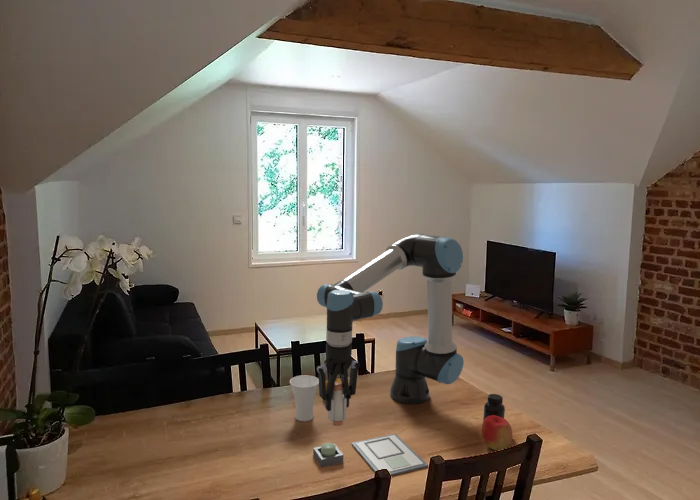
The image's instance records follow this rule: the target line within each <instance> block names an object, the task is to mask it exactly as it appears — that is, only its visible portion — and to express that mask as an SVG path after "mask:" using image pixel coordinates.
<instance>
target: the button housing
mask: <svg viewBox="0 0 700 500" xmlns="http://www.w3.org/2000/svg"><path fill="white" fill-rule="evenodd" d="M333 444H334V445H335V446H336V452H335V455H332V456H328V457H323V456H322V455H321V446H316V447H313V449H312V450H313V451H312V452H313V453H312V454H313V455H312V456H313V457H314V459H315V461H316V462H317V463H318V465H319V467H320V468H325V467H330V466H334V465H339V464H343V463H344V453H343V452H342V451H341V450H340V449H339V447H338V446H337V444H335V443H333Z"/></svg>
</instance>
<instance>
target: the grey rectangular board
mask: <svg viewBox="0 0 700 500" xmlns="http://www.w3.org/2000/svg"><path fill="white" fill-rule="evenodd" d="M350 444H351V446H352V447H353V448H354V449H355V451H356V452H357V453H358V454H359V455H360V456H361V458H362V459H363V460H364V461H365V463H366V464H367V465H368V466H369V467H370V469H371V470H372V472H373V473H375V471H377V470H381V469H387V470H388V471H389V472H390V473H391V475H392V476H396V475H401V474H405V473H409V472H412V471H413V472H414V471H417V470H420V469H425V468H426V469H427V468H428V467H429V465H428V463H427V462H426V461H424V459H422V457H420V455H418V454H417V453H416V451H414V450H413V449H412V448H411V447H410V446H409V445H408V444H407V443H406V442H405V441H404V440H403V439H402V438H401V437H399V435H397V433H391V434H386V435H382V436H378V437H372V438H368V439H363V440H359V441H353V442H351V443H350ZM392 476H391V477H392Z"/></svg>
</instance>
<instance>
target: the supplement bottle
mask: <svg viewBox="0 0 700 500" xmlns="http://www.w3.org/2000/svg"><path fill="white" fill-rule="evenodd" d="M503 398H504V397H503V396H502V395H501V394H498V393H497V394H496V393H489V394H488V395H487V401H486V402H485V403H484V407H483V419H482V422H483V421H484V419H485V418H486V417H488V416H491V415H495V416H499V417H502V418H504V419H505V414H506V407H505V405H504V404H503V401H504V399H503Z"/></svg>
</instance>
